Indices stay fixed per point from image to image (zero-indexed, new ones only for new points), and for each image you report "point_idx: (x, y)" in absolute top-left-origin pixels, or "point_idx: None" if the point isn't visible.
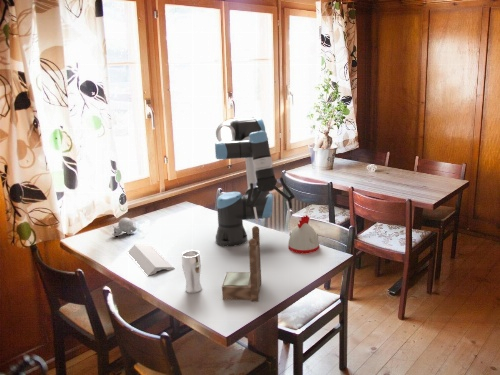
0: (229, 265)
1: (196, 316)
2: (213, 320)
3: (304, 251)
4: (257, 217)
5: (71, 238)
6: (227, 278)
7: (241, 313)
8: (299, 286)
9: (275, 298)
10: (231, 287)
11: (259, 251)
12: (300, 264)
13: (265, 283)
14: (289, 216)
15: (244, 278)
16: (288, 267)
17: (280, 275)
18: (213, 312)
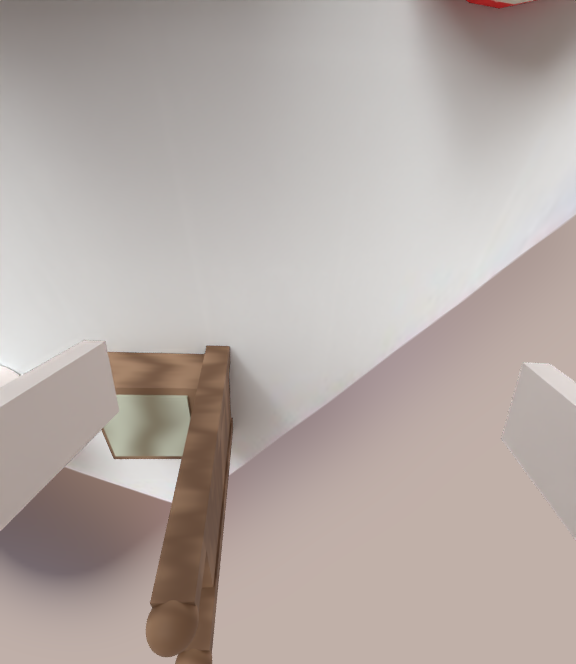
0: (25, 187)
1: (93, 473)
2: (141, 481)
3: (503, 5)
4: (61, 374)
5: None
6: (110, 427)
7: None
8: (360, 366)
9: (280, 417)
10: (145, 458)
11: (214, 485)
12: (413, 193)
13: (245, 350)
14: (509, 443)
15: (173, 427)
16: (346, 225)
17: (302, 297)
18: (128, 462)
